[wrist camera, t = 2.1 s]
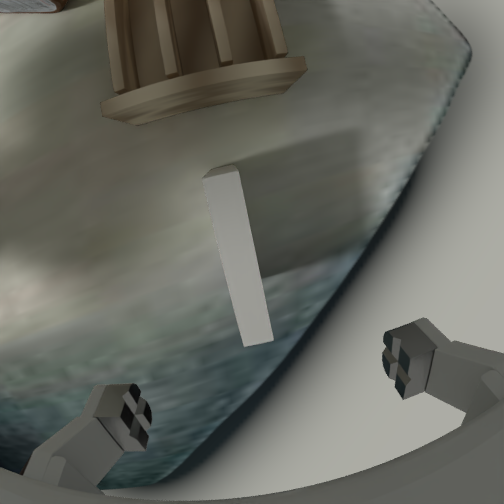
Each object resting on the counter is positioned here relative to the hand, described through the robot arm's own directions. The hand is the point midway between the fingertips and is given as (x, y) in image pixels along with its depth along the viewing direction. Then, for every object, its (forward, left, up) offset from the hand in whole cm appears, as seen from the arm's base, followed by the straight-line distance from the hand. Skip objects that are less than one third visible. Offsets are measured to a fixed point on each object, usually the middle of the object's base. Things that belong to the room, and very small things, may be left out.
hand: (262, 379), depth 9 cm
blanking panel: (0, 0, -19) cm, 19 cm away
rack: (0, +21, -19) cm, 28 cm away
